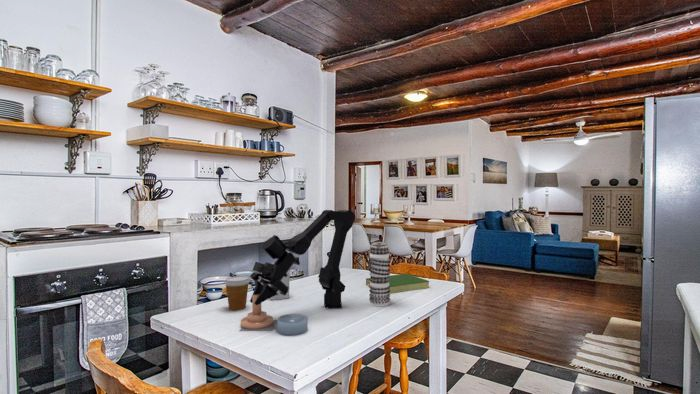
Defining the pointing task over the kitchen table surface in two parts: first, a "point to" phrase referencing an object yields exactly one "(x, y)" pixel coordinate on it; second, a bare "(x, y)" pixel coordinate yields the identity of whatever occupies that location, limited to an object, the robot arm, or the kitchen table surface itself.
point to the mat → (264, 328)
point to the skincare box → (286, 282)
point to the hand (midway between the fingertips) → (253, 303)
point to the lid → (256, 317)
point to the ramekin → (292, 324)
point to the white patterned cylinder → (379, 274)
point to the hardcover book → (404, 283)
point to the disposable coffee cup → (237, 292)
